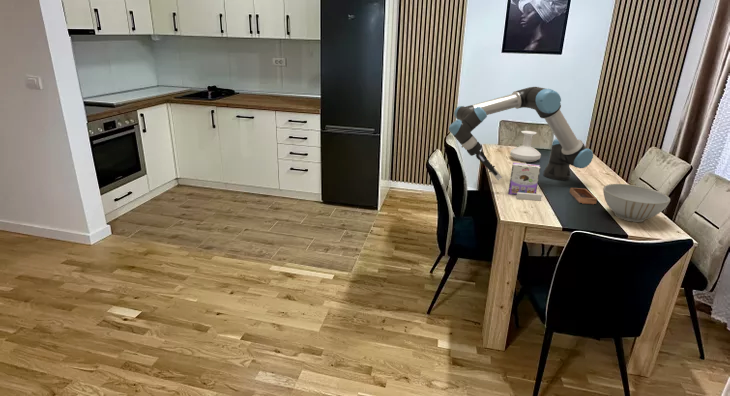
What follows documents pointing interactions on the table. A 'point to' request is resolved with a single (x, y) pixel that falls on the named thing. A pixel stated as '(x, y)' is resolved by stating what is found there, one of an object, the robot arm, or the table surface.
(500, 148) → the table surface
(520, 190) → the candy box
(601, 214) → the table surface
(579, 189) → the tray
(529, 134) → the candle holder
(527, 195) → the walled channel
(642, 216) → the decorative bowl
